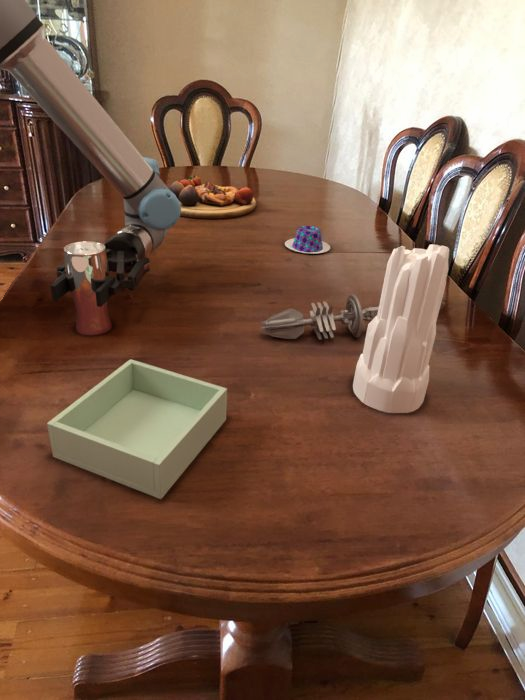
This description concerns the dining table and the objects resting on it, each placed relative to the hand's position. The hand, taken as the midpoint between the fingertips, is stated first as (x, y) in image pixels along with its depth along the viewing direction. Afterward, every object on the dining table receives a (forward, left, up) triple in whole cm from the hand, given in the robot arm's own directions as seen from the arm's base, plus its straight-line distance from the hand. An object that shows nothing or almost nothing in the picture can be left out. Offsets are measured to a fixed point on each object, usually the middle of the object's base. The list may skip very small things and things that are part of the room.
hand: (76, 296), depth 85 cm
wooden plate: (-23, +87, -9) cm, 90 cm away
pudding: (+18, +67, -9) cm, 70 cm away
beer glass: (-1, +5, -9) cm, 10 cm away
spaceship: (+41, +26, -9) cm, 49 cm away
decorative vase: (+51, +10, -9) cm, 52 cm away
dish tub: (+24, -16, -9) cm, 30 cm away
